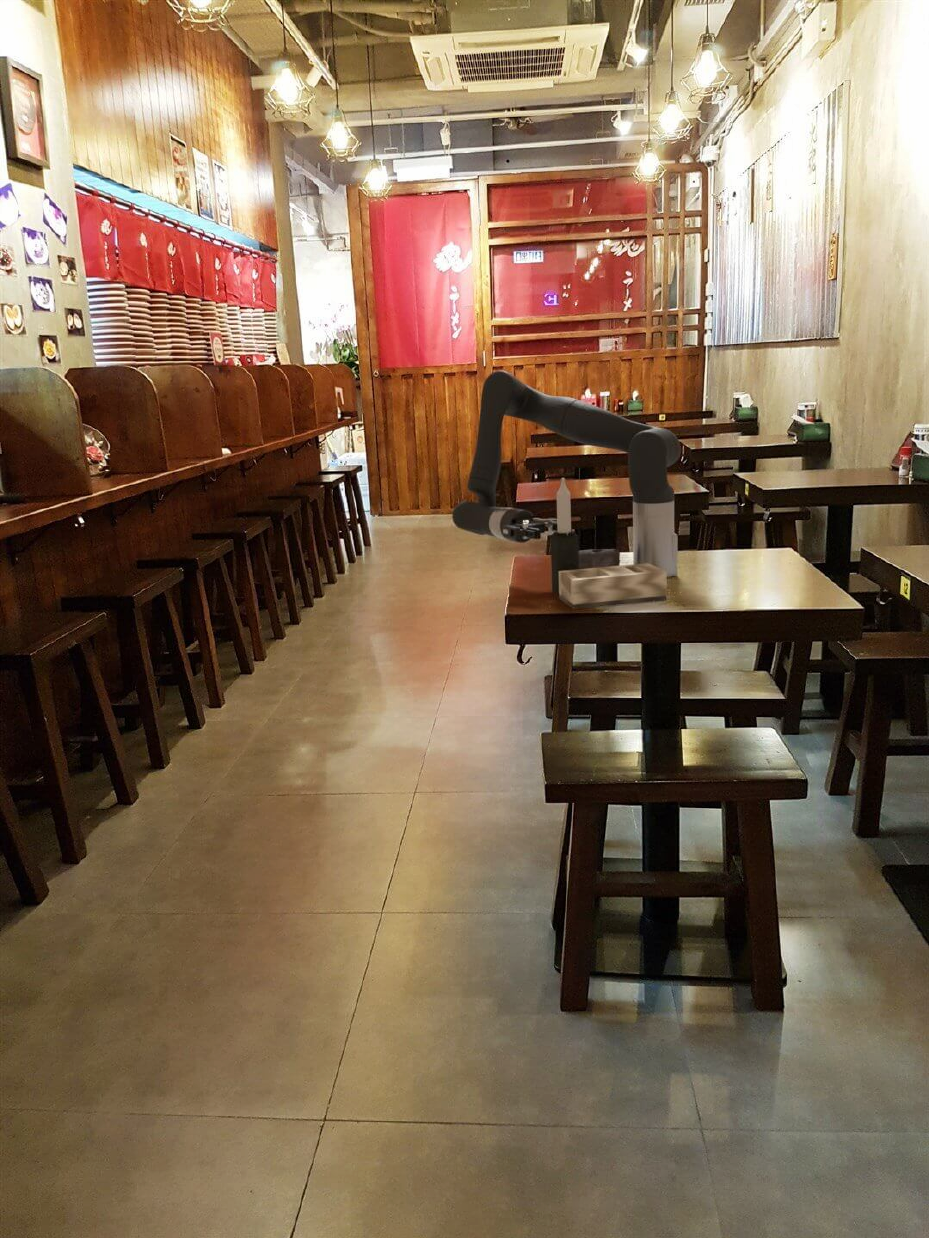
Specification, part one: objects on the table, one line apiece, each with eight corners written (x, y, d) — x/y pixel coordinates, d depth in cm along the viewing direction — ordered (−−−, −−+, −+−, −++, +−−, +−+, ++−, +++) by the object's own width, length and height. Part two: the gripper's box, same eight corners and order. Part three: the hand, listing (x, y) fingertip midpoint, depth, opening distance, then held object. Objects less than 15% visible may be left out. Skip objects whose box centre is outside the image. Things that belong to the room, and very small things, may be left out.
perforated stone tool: (553, 581, 223) (552, 551, 221) (557, 576, 228) (556, 547, 226) (618, 581, 219) (618, 551, 217) (621, 576, 224) (620, 547, 222)
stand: (648, 590, 209) (648, 563, 207) (666, 600, 199) (666, 571, 198) (559, 598, 205) (558, 571, 204) (573, 609, 195) (573, 580, 194)
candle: (559, 596, 207) (556, 479, 201) (550, 591, 212) (547, 477, 206) (581, 593, 209) (578, 477, 202) (572, 589, 213) (569, 475, 207)
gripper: (485, 512, 219) (528, 518, 205) (536, 505, 226) (580, 511, 212) (487, 544, 220) (529, 553, 207) (537, 536, 228) (581, 544, 214)
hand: (555, 532), depth 210 cm, fingers open, 8 cm apart
